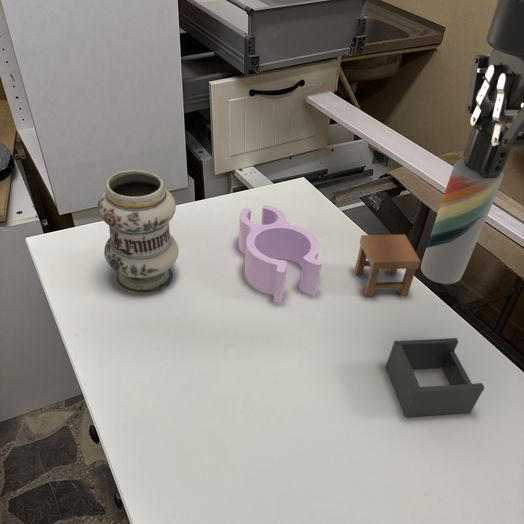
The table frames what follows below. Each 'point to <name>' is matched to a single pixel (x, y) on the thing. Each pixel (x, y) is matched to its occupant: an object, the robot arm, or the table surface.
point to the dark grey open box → (432, 397)
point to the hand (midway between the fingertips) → (480, 166)
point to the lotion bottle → (461, 212)
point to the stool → (386, 261)
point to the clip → (277, 252)
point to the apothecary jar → (139, 230)
